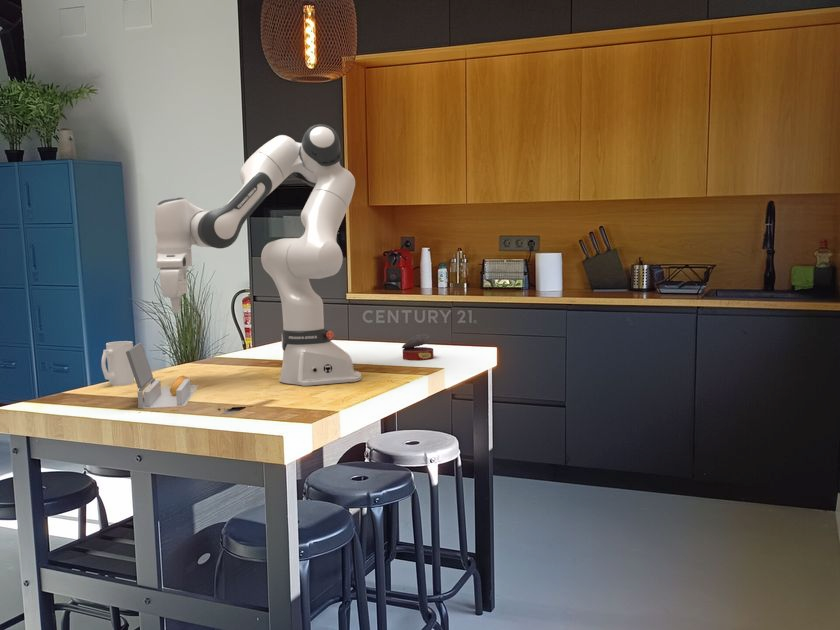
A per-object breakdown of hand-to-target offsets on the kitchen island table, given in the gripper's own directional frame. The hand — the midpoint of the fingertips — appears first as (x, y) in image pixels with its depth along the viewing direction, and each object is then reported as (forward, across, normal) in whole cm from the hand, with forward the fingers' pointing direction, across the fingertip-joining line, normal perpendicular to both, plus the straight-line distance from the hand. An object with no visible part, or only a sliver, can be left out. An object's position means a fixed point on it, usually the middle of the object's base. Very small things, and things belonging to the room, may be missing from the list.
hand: (176, 312), depth 211 cm
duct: (+20, +16, 0) cm, 26 cm away
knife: (+21, +31, +17) cm, 41 cm away
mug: (+20, -4, -17) cm, 27 cm away
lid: (+11, +21, -6) cm, 24 cm away
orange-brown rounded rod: (+19, +11, 0) cm, 22 cm away
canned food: (+20, -32, +69) cm, 79 cm away
